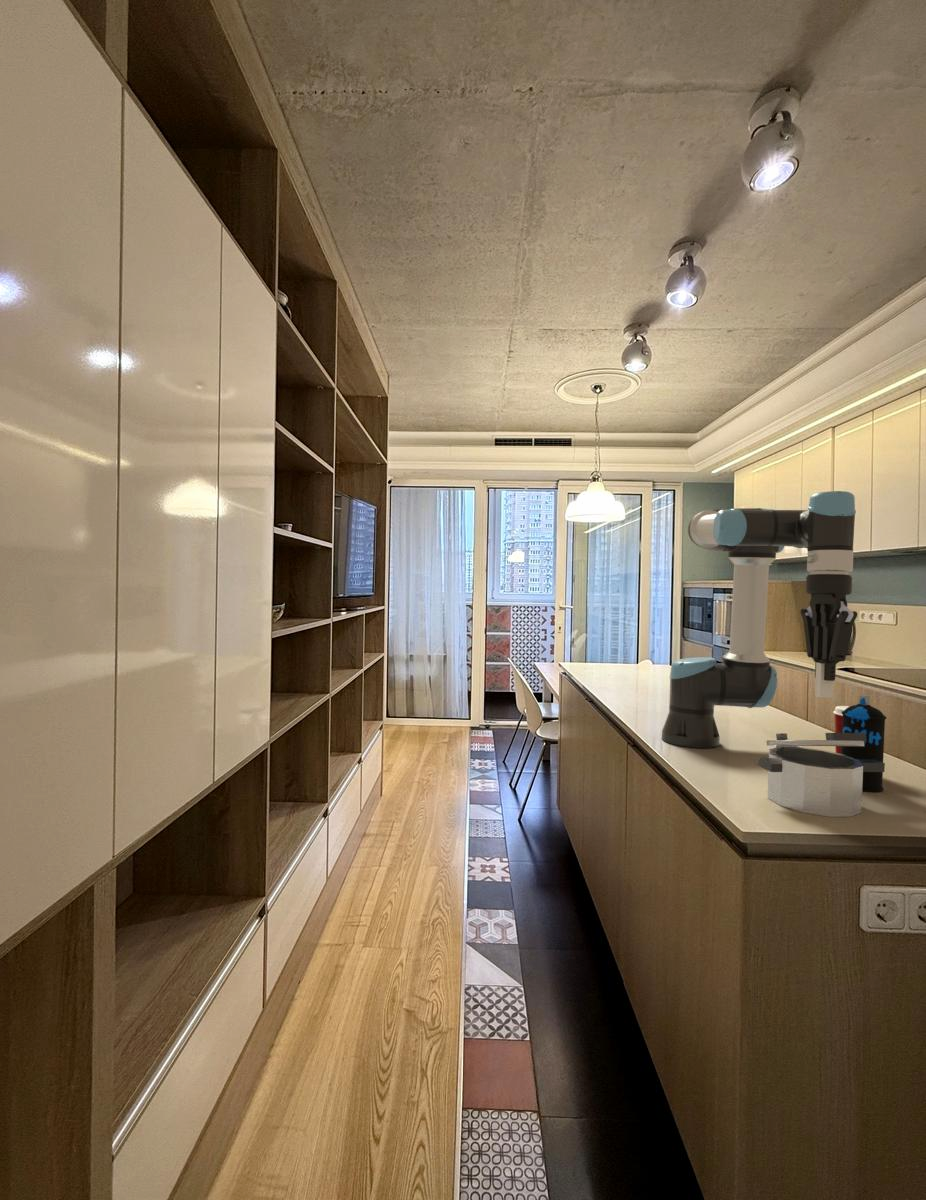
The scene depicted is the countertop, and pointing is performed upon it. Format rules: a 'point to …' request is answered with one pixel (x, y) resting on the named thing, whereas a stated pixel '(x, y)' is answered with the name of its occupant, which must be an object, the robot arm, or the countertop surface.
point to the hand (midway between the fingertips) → (824, 696)
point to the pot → (817, 780)
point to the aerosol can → (873, 725)
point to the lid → (831, 740)
